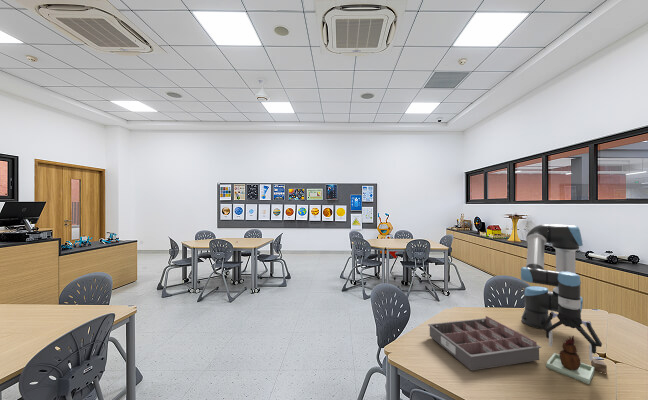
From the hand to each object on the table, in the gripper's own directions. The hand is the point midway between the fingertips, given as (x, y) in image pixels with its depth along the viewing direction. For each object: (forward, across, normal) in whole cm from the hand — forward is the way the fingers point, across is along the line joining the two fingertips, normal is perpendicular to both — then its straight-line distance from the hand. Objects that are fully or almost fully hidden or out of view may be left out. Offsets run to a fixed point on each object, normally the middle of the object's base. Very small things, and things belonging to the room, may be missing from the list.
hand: (569, 352), depth 118 cm
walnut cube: (+8, +8, +10) cm, 15 cm away
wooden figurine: (+7, 0, 0) cm, 7 cm away
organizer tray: (+8, -32, -16) cm, 37 cm away
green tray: (+8, 0, 0) cm, 8 cm away
